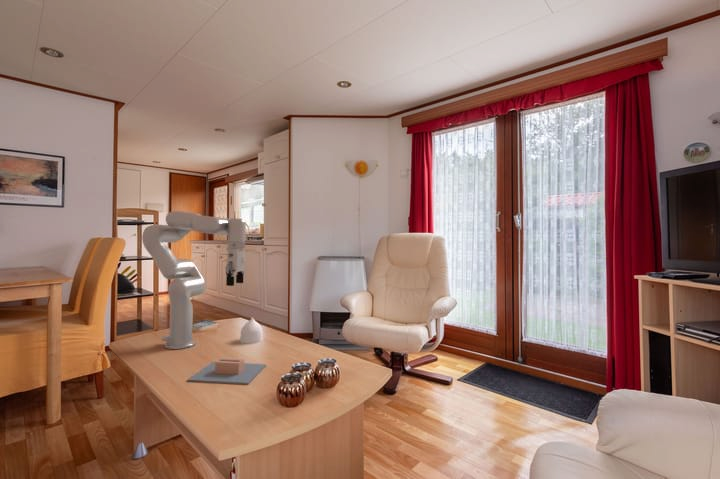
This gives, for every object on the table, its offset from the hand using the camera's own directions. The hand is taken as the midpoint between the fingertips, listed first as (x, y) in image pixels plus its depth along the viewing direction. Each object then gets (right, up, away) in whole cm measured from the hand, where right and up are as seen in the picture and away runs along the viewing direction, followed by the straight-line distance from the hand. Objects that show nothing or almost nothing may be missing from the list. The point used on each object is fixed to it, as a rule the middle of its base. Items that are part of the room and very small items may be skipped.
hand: (235, 284), depth 150 cm
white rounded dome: (+1, -31, +19) cm, 36 cm away
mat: (+7, -30, -24) cm, 39 cm away
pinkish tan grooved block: (+7, -30, -24) cm, 39 cm away
